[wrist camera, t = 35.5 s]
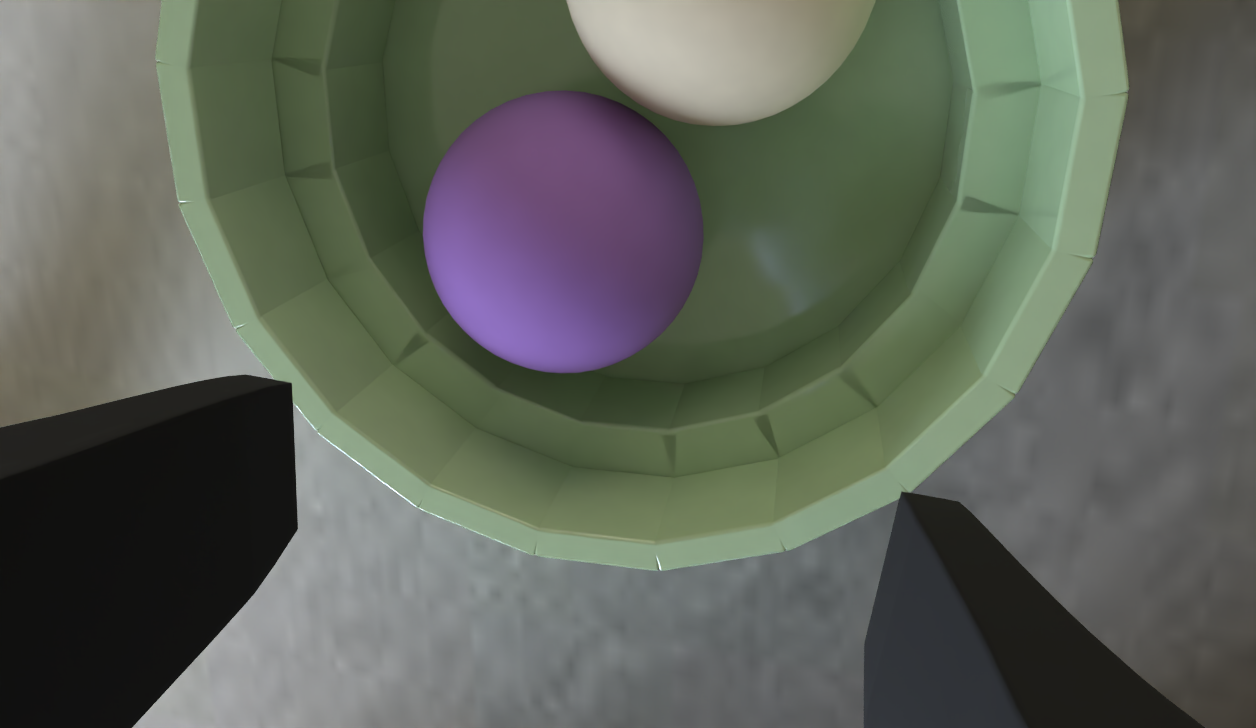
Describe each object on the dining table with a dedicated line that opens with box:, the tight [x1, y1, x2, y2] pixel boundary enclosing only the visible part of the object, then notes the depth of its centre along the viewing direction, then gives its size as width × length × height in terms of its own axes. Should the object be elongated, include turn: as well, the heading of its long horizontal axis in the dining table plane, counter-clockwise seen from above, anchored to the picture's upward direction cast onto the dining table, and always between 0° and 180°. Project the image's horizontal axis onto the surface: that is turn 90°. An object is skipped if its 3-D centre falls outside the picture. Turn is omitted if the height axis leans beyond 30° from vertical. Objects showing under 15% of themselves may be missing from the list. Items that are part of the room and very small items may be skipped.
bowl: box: [155, 0, 1130, 571], centre depth 16 cm, size 14×14×6 cm
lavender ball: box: [423, 90, 704, 373], centre depth 17 cm, size 5×5×5 cm
